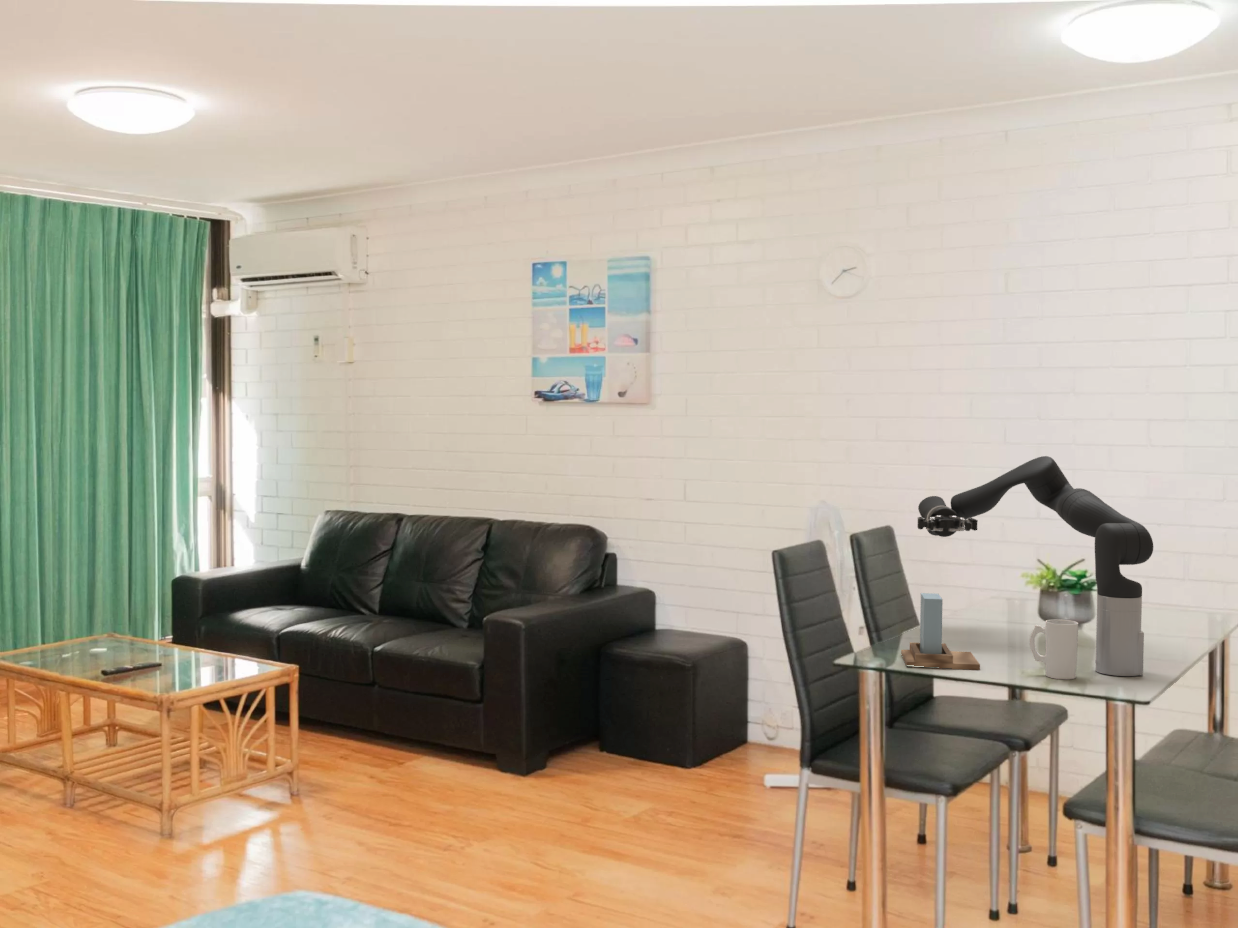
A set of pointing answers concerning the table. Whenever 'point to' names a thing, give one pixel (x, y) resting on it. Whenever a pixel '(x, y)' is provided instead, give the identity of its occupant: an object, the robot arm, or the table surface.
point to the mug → (1058, 648)
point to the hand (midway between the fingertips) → (950, 526)
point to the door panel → (931, 624)
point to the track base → (940, 658)
